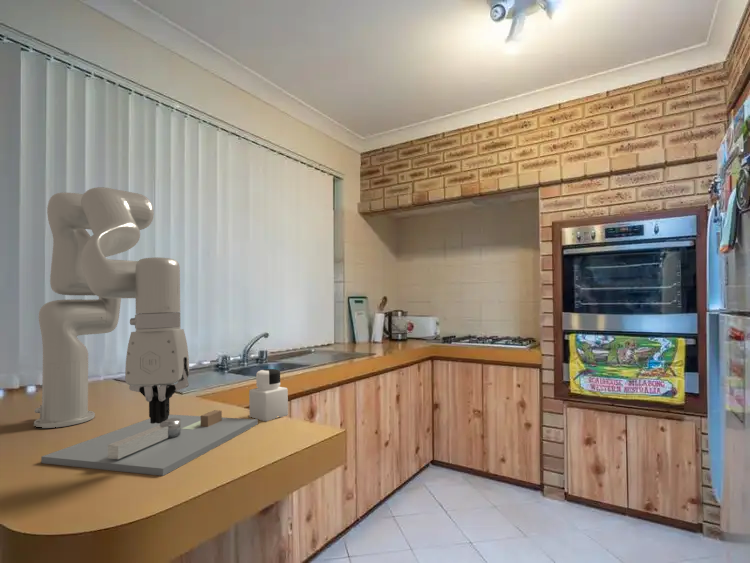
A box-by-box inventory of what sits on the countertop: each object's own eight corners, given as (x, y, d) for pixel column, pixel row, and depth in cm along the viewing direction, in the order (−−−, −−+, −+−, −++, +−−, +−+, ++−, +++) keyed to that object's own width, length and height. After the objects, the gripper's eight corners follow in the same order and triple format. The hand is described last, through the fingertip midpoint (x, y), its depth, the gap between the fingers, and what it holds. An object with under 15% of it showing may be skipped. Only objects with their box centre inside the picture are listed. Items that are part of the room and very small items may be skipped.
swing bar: (169, 431, 90) (169, 417, 91) (184, 432, 89) (184, 418, 90) (104, 458, 75) (104, 441, 75) (121, 460, 74) (121, 443, 74)
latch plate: (41, 463, 78) (41, 443, 78) (162, 418, 107) (162, 404, 107) (163, 475, 70) (163, 454, 70) (257, 424, 99) (257, 409, 99)
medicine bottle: (271, 411, 111) (271, 366, 112) (288, 415, 107) (287, 369, 107) (248, 417, 106) (248, 370, 106) (265, 422, 101) (265, 373, 102)
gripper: (106, 325, 74) (106, 429, 73) (188, 322, 74) (189, 425, 73) (132, 323, 82) (132, 417, 80) (206, 320, 81) (207, 414, 80)
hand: (159, 421), depth 76 cm, fingers closed
